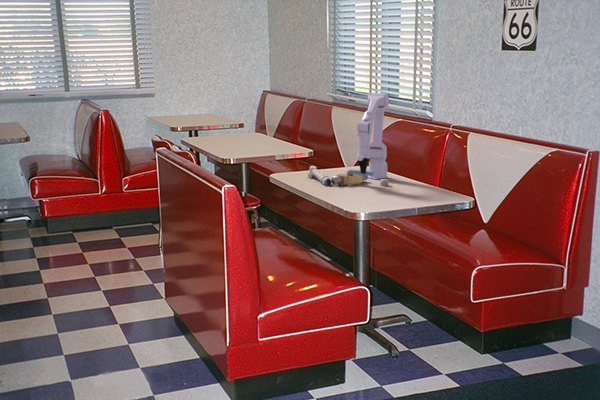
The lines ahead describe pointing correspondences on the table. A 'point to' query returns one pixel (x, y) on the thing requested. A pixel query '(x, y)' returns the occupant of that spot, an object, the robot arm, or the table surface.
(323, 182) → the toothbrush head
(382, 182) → the pvc end cap
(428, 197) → the table surface
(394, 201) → the table surface
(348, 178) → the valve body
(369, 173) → the lever
